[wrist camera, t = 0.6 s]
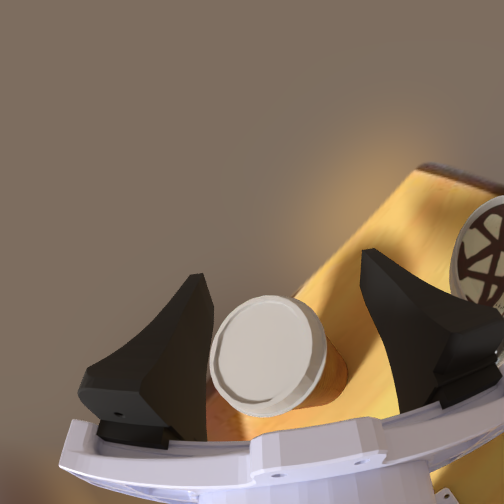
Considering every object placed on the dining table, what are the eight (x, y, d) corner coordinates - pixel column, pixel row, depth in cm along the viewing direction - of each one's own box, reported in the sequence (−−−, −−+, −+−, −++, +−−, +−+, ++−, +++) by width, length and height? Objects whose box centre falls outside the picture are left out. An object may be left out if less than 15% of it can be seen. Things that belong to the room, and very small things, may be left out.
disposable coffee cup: (309, 321, 32) (250, 272, 24) (380, 357, 25) (347, 320, 17) (263, 390, 30) (187, 367, 22) (327, 437, 23) (262, 444, 15)
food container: (495, 238, 22) (495, 168, 16) (535, 267, 17) (552, 199, 12) (427, 322, 24) (414, 271, 18) (467, 363, 19) (476, 325, 13)
